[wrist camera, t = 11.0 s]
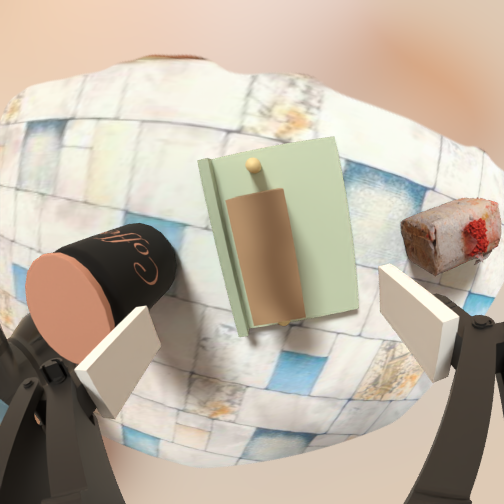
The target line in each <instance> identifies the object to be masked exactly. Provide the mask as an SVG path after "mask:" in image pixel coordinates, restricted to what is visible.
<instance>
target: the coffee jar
mask: <svg viewBox="0 0 504 504" xmlns="http://www.w3.org/2000/svg"><path fill="white" fill-rule="evenodd" d="M175 272H176V261H175V254H174V252H173V249H172V247H171V245H170V243H169V241H168V240H167V239H166V238H165V237H164V235H163V234H162V233H161V232H159V231H158V230H156V229H155V228H153V227H152V226H149V225H145V224H142V223H135V224H128V225H125V226H122V227H119V228H116V229H113V230H110V231H107V232H104V233H101V234H98V235H95V236H92V237H89V238H86V239H83V240H80V241H78V242H75V243H72V244H69V245H66V246H64V247H61V248H60V249H58V250H57V251H55V252H53V253H47V254H43V255H42V256H40V257H39V258H37V259H36V260H34V261H33V263H32V265H31V267H30V268H29V270H28V272H27V278H26V285H25V289H26V299H27V304H28V308H29V311H30V314H31V317H32V319H33V321H34V323H35V325H36V327H37V329H38V331H39V333H40V334H41V335H42V337H43V338H44V339H45V341H46V342H47V343H48V344H49V346H51V347H52V348H53V349H54V350H55V351H56V352H57V353H58V354H59V355H61V356H62V357H64V358H66V359H67V360H69V361H71V362H73V363H76V364H80V363H81V362H82V361H83V360H84V359H85V358H86V357H87V356H88V355H89V354H90V353H91V352H92V351H93V350H94V348H95V347H96V346H97V345H98V344H99V343H100V342H101V341H102V340H103V339H104V338H105V337H106V336H107V335H108V334H109V333H110V332H111V331H112V330H113V329H114V328H115V327H116V326H117V325H118V324H119V323H120V322H121V321H123V320H124V319H125V318H126V317H127V316H128V315H129V314H130V313H131V312H132V311H133V310H134V309H135V308H136V307H141V306H147V307H148V310H149V309H150V308H151V307H152V306H153V305H154V304H155V303H156V302H157V301H158V300H159V299H160V298H161V297H162V296H163V295H164V293H165V292H166V291H167V290H168V289H169V288H170V286H171V284H172V282H173V281H174V278H175Z"/></svg>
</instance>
